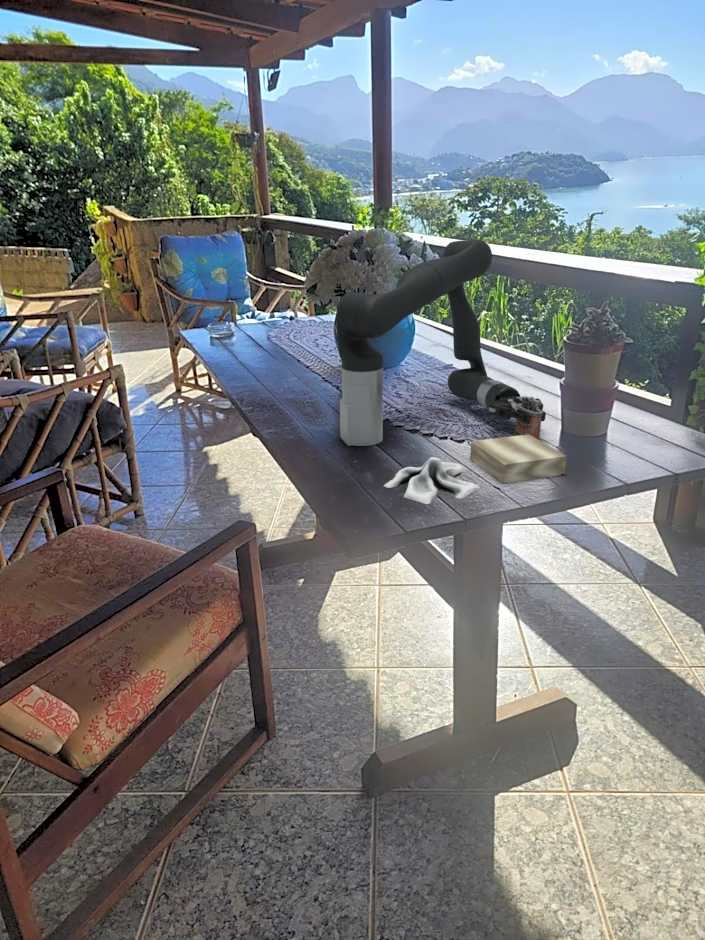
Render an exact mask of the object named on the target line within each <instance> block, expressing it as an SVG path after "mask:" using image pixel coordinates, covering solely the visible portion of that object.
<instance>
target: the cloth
mask: <svg viewBox="0 0 705 940" xmlns="http://www.w3.org/2000/svg"><path fill="white" fill-rule="evenodd" d="M466 469H467V468H466V467H465V466H463V465H461V464H460V463H456V462H455V463H454V462H447V461H442V460H441V459H440V458H437V457H433V456H431V457H429V459H428V460H427V461H425V462H424V463H423V465H422V466H419V467H418V466H417V467H416V466H407V467H403V468H402V469H400V470H399V471H397V472H396V473H395V476H394V477H393V478H392V479H389V481H388V482H386V483H385V484H384V485H383V487H385V488H388V489H391V488H396V487H398V486H400V485H401V484H402V482H408V485H407V488H406V491H405V493H404V494H403V498H405V499H408V500H410V501H411V500H412V501H414V502H417V503H421V504H423V505H428V504H431V501H433V499H435V498H436V496H437V495H438V494H439V488H443V489H446V490H448V491H450V492H451V493H453V494H455V498H456V499H464V498H467V497H469V496H470V495H471V494H473V493H475V492H476V491H478V490H479V489H480V485H478V484H475V483H472V482H468V481H464V480H461V479H458V478H455V476H457V475H461V474H462V472H464V471H465V470H466Z"/></svg>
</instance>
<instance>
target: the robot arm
mask: <svg viewBox="0 0 705 940" xmlns="http://www.w3.org/2000/svg"><path fill="white" fill-rule="evenodd" d="M492 252H493V251H492V249H491V247H490V246H489V244H488V243H487V242H485V241H484V240H482V239H481V240H480V239H467V240H466V239H465V240H456V241H455V240H454V241H451V242H450V243H448V244H447V245H446V246H445V248H444V251H443V255H442V257H439V258H433V259H431V260H427V261H423V262H420V263H418V264H416V265H414V266H413V267H412V266H411V268H408V269H407V270H405V271H404V272H403V273H402V274H400V276H399V278H398V279H397V282H396V285H395V288H393V289H392V290H389V291H387V292H383V293H379V294H378V293H367V292H366V293H365V292H353V291H352V292H348V293H344V295H342V297H341V298H340V300H339V302H338V304H337V308H336V318H335V319H336V320H335V323H336V324H335V325H336V337H337V350H338V351H337V352H338V357H339V358H340V360H341V384H342V386H341V394H342V395H341V396H342V397H341V398H340V399H339V428H340V429H339V431H340V434H339V435H340V437H339V438H340V439H341V440H342V441H343V442H344V443H345V445H346V446H348V447H350V446H356V447H369V446H375V445H378V444H380V443H382V442H383V440H384V439H383V436H384V435H383V434H384V428H383V426H384V425H383V424H384V421H383V420H384V419H383V418H384V417H383V416H384V415H383V414H384V412H383V411H384V357H383V354H382V353H381V352H380V351H378V350H377V349H376V348H375V347H373V346H372V345H371V344H370V342H369V339H377V338H380V337H382V336H384V335H385V334H387V333H388V332H389V331H390V330H392V329H393V328H394V327H396V326H397V325H398V324H400V322H402V321H403V320H405V319H406V318H407V317H409V316H410V315H412V314H414V313H416V312H417V311H419V310H420V309H422V308H424V307H427V306H428V305H431V303H433V302H435V301H436V300H438V299H440V298H441V297H443V296H445V295H446V294H447V296H448V297H447V298H448V301H449V307H450V311H451V318H452V333H453V335H452V337H453V356H454V358H455V359H456V360H458V361H467V362H468V364H469V366H470V367H467V368H461V369H459V368H458V369H456V370H453V371H452V372H451V373H450V374H449V376H448V378H447V386H448V390H449V391H450V392H451V393H452V395H453V396H456V397H457V398H460V399H465V400H470V401H474V402H476V403H477V404H479V405H481V406H482V407H483V408H485V409H486V410H488V415H491V416H495V417H498V418H501V419H505V420H510V419H513V420H515V421H516V420H517V419H518V420H520V421H522V422H524V423H529V419H530V414H529V413H527V412H525V411H523V410H519V408H518V407H517V404H522V396H521V394H520V393H519V391H518V390H517V389H516V388H515V387H512V386H510V385H508V384H506V383H504V382H502V381H499V380H495V379H493V378H491V377H489V376H488V372H487V370H486V367H485V364H484V360H483V357H482V352H481V350H482V349H481V327H480V326H481V325H480V323H479V321H478V320H479V319H478V317H477V316H476V314H475V312H474V309H473V308H472V306H471V305H470V303H469V300H468V298H467V295H466V292H465V286H464V284H465V283H468V282H470V281H473V280H476V279H478V278H480V277H482V276H484V275H485V274H486V273H487V272H488V270H489V268H490V267H491V264H492V260H493V253H492ZM534 399H535V400H538V401H540V402H541V406H540V407H538V409H540V410H541V411H543V410H544V403H543V401H541V399H540V398H539V397H537V398H534ZM536 408H537V407H536ZM546 414H547V413H546V412H545V411H543V416H542V418H541V422H545V420H546Z"/></svg>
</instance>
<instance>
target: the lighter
mask: <svg viewBox="0 0 705 940" xmlns="http://www.w3.org/2000/svg"><path fill="white" fill-rule="evenodd" d="M521 397H522V404H517V407H518V408H519V410H523V411H525V412H527V413H529V414H530V419H529V423H524V422H522V421H520V420H518V419H517V420H515V429H514V432H513V436H520V435H528V434H529V435H531V436H533V437H535V438H536V439H538V440H540V441H541V439H540V435H541V427H542V421H541V418H542V416H543V411H541V410H540V409H538V407H540V406H541V402H542V401H541V400H540V401H541V402H540V401H538V400H535V399H536V398H535V397H534V396H527V395H523V396H521ZM536 407H537V408H536Z"/></svg>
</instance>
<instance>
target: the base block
mask: <svg viewBox="0 0 705 940" xmlns="http://www.w3.org/2000/svg"><path fill="white" fill-rule="evenodd" d="M469 454H470V455H469V460H471V461H472V462H473V463H475V464H476V465H477V466H479V467H480V468H481V469H483V470H484V471H485V472H486V473H488V474H489V475H490V476H492V477H493V478H494V479H496V480H497V481H498V482H500V483H501V484H509V483H515V482H523V481H529V480H535V479H543V478H551V477H558V476H562V475H561V474H564V475H565V472H566V465H567V464H566V463H567V455H565V453H562V452H560V451H559V450H557V449H555V448H553V447H552V446H550V445H549V444H546V443H544V442H543V441H541V439H540V440H538V439H536V438H535V437H533V436H531V435H529V434H528V435H520V436H514V435H511V436H505V437H496V438H489V439H479V440H472V441H470V453H469ZM557 475H558V476H557Z"/></svg>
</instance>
